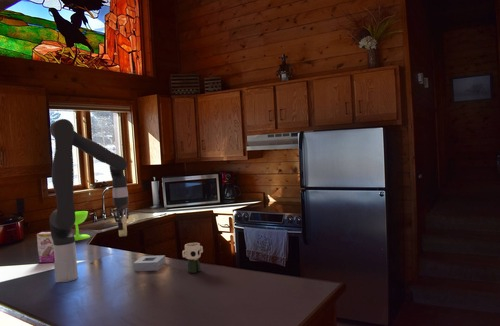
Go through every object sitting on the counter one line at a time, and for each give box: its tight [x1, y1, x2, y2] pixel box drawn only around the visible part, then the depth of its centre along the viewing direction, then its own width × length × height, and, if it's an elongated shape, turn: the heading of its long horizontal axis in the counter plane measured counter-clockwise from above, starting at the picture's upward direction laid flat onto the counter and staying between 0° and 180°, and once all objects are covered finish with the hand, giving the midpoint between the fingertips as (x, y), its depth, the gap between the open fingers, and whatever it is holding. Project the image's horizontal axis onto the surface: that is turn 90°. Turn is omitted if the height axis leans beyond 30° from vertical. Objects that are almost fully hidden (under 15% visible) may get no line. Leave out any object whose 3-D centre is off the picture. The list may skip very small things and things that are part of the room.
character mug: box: [181, 242, 204, 274], centre depth 186 cm, size 11×7×13 cm, turn 130°
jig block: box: [133, 255, 167, 272], centre depth 198 cm, size 12×12×4 cm
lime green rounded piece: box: [73, 210, 91, 242], centre depth 282 cm, size 16×16×18 cm
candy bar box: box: [36, 231, 55, 264], centre depth 222 cm, size 11×5×16 cm, turn 84°
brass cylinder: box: [118, 216, 128, 237], centre depth 204 cm, size 4×4×10 cm
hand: (122, 229), depth 204 cm, fingers closed on brass cylinder, 4 cm apart
